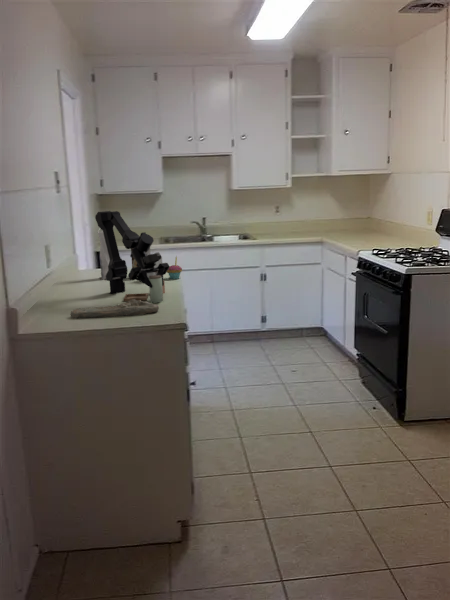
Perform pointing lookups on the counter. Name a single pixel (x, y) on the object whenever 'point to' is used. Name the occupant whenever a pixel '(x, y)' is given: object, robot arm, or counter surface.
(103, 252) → the skyscraper
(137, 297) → the walnut tray
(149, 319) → the counter surface
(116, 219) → the robot arm
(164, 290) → the terracotta cup
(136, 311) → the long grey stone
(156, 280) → the spice jar
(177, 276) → the cupcake
